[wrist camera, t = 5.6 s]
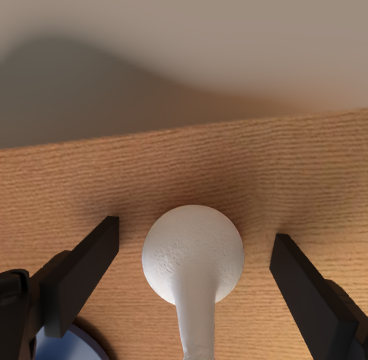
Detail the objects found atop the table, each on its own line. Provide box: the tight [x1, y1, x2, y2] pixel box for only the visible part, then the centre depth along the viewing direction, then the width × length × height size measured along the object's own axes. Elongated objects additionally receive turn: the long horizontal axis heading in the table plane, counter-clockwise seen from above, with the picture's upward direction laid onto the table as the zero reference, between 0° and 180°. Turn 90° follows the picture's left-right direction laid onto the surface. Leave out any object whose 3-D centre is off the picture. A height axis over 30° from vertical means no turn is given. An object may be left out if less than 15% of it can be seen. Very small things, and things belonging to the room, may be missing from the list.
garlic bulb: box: [142, 205, 245, 360], centre depth 11 cm, size 6×6×8 cm
